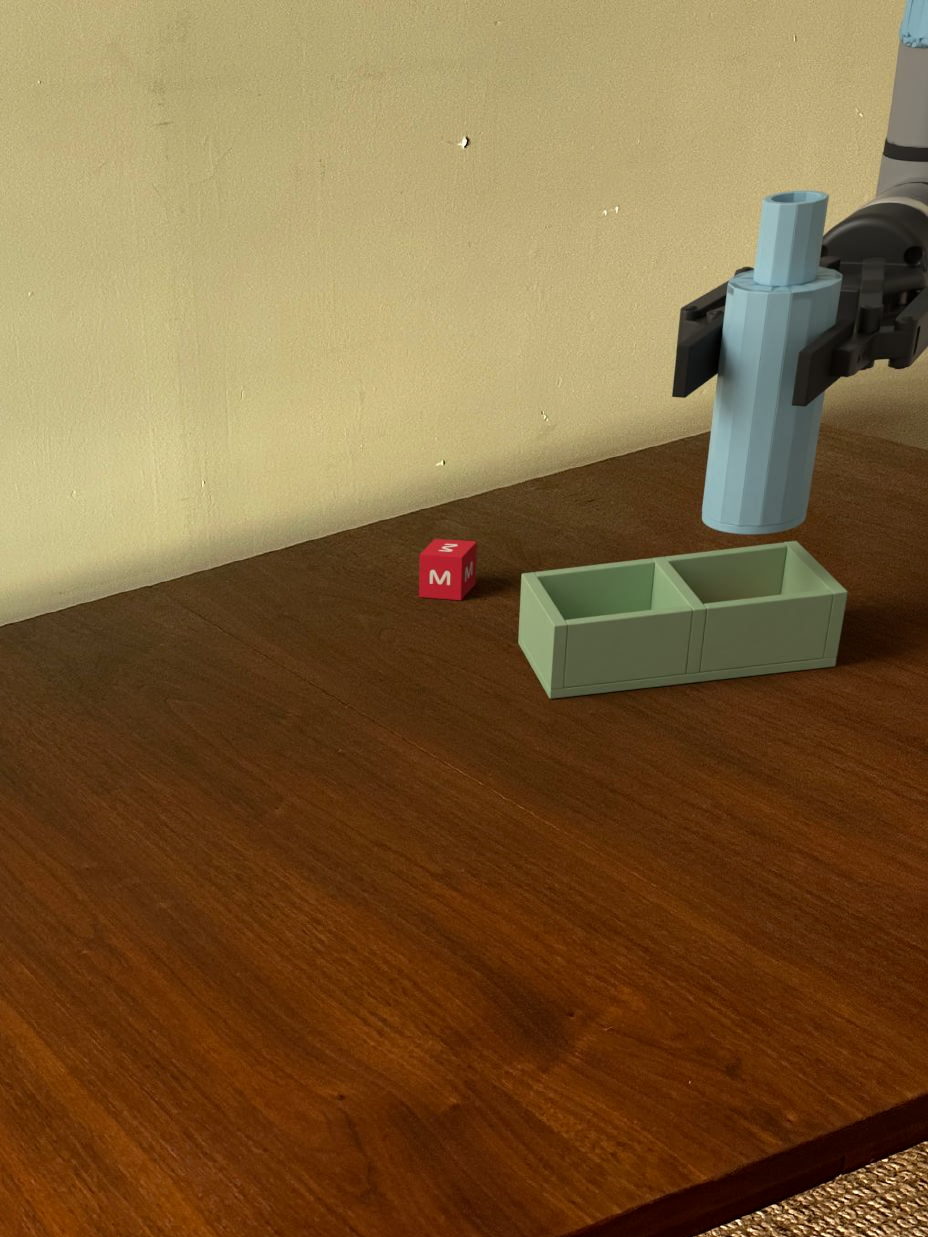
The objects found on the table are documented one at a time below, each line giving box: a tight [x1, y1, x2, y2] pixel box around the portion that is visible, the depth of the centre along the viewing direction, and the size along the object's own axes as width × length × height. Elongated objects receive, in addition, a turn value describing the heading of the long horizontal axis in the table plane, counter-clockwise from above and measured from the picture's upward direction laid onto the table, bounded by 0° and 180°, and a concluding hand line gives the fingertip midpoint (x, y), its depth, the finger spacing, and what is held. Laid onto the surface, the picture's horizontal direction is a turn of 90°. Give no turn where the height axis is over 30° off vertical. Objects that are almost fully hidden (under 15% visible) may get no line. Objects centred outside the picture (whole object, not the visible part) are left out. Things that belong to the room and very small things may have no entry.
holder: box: [517, 540, 848, 700], centre depth 108 cm, size 17×9×5 cm, turn 90°
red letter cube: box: [418, 538, 478, 601], centre depth 121 cm, size 3×3×3 cm
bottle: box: [701, 189, 843, 536], centre depth 99 cm, size 6×6×17 cm
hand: (740, 375), depth 96 cm, fingers closed on bottle, 6 cm apart
